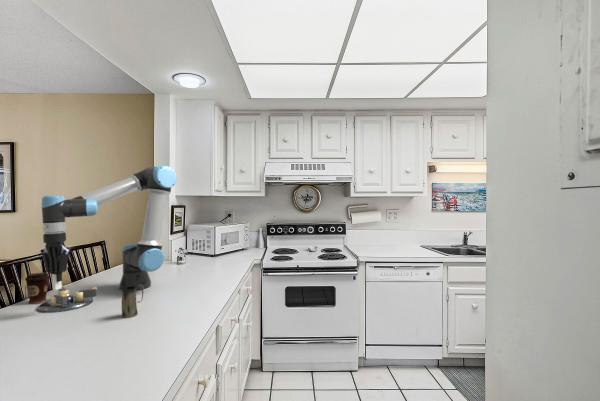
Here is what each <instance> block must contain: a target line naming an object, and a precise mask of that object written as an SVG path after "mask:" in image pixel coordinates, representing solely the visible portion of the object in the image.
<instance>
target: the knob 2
mask: <svg viewBox="0 0 600 401" xmlns="http://www.w3.org/2000/svg"><path fill="white" fill-rule="evenodd" d="M65 293H69V294H70V290H69V289H67V288H65V286H64V285H63V284H62V288H61V289H58V294H60V295H64V294H65Z"/></svg>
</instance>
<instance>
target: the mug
mask: <svg viewBox="0 0 600 401" xmlns="http://www.w3.org/2000/svg"><path fill="white" fill-rule="evenodd" d="M137 286H142V289H141V290H142V291H141V292H142V294H141V300H140V301H137V290H136V288H137ZM137 286H136V287H135V286H131V287H125V288H123V290H121V316H122V318H124V319H130V318H134V317H137V316H138V306H137V305H138V304H137V303H142V301H143V298H144V289H143V285H137Z"/></svg>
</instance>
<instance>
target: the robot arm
mask: <svg viewBox="0 0 600 401" xmlns="http://www.w3.org/2000/svg"><path fill="white" fill-rule="evenodd" d="M177 178H178V177H177V173H176V172H175V171H174V169H173V168H172V167H170V166H167V165H158V166H157V165H156V166H149V167H147V168H144V169H142V170H141V171H140V170H139V171H138V172H136V173H135V172H134V173H133V174H130V175H129V177H128V178H125V179H122V180H119V181H116V182H113V183H110V184H109V185H106V186H103V187H100V188H97V189H95V190H92V191H89V192H87V193H84V194H81V195H77V196H75V197H73V198H67V199H65V197H64V195H44V196H43V197H42V198H41V207H40V208H41V213H42V214H41V215H42V233H44V234H43V235H42V238H43V239H42V240H43V243H44V244H45V246H44V248H43V249H40V253H41V255H42V258H43V263H44V267H45V271H46V273H49V274H50V278H51V282H52V283H51V284H52V290H53V291H57V290H58V291H59V289H61V288H62V285H63V284H62V283H63V273H64V272H66V271H67V268H68V262H69V255H70V253H71V248H67V247H66V244H65V242H66V240H67V233H66V232H65V231H67V229H66V228H67V227H66V218H78V217H79V218H80V217H92V216H96V215H97V213H98V209H99V206H101V205H104V204H106V203H109V202H112V201H114V200H116V199H119V198H121V197H124V196H127V195H129V194H133V193H134V192H137V193H139V192H142V191H145V190H146V191H147V193H148V198H147V205H146V210H145V216H144V223H143V228H142V233H141V239H140V240H139V241H138V242H137V243H135V244H134V243H133V244H125V245H123V246H122V251H121V252H122V275H121V278H120V282H119V286H118V287H119V288H118V289H119V290H120V291H122V290H123V288H125V287H131V286H135V287H136V286H137V285H143V290H144V289H147V288H148V289H149V287H151V286H152V280H151V278H150V275H149V273H151V272H155V271H157V270H159V268H161V267H162V266H163V264H164V262H165V254H164V253H163V251H162V248H163V244H162V243H161V236H162V228H163V223H164V222H163V221H164V216H165V211H166V210H165V208H166V203H167V197H168V196H169V195H170V194H171V190H172V187H175V185H176V183H177ZM139 290H142V286H137V288H136V291H139Z"/></svg>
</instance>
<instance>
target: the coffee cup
mask: <svg viewBox="0 0 600 401" xmlns="http://www.w3.org/2000/svg"><path fill="white" fill-rule="evenodd" d="M49 279H50V275H49V274H48V272H36V273H29V274H27V276H26V277H25V279H24V280H25V282H26V285H25V287H26V291H27V297H28V299H29V300H28V304H30V305H31V304H33V305H34V304H40V303H41V304H42V303H45V302H47V294H48V287H49V286H48V285H49V284H48V283H49Z"/></svg>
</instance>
